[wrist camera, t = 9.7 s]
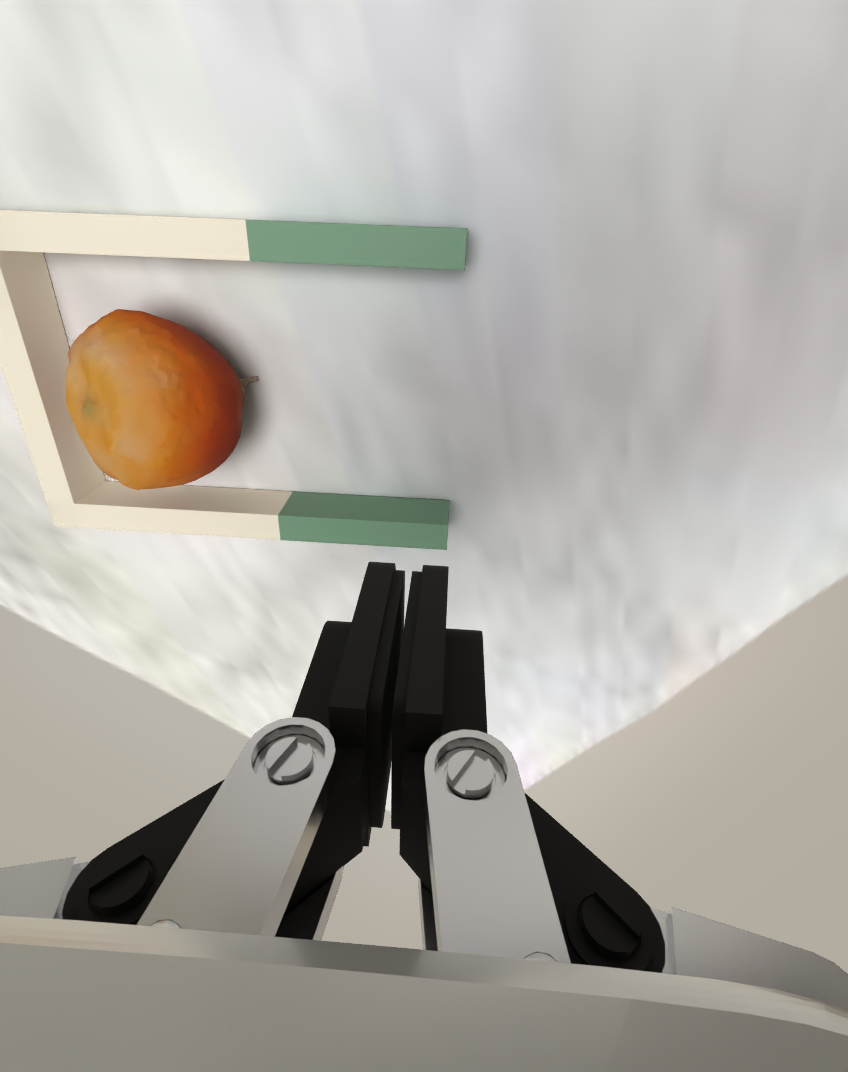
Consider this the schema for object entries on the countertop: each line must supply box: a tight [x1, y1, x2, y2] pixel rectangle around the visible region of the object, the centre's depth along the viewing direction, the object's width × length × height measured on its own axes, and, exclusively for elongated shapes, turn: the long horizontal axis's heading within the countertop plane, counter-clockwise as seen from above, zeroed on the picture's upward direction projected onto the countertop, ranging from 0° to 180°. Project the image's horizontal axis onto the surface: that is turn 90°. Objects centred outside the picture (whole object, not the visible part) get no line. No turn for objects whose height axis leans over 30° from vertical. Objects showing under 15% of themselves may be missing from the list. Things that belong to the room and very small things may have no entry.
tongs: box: [0, 210, 467, 550], centre depth 22 cm, size 26×15×15 cm, turn 88°
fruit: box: [65, 309, 259, 490], centre depth 26 cm, size 8×8×8 cm
